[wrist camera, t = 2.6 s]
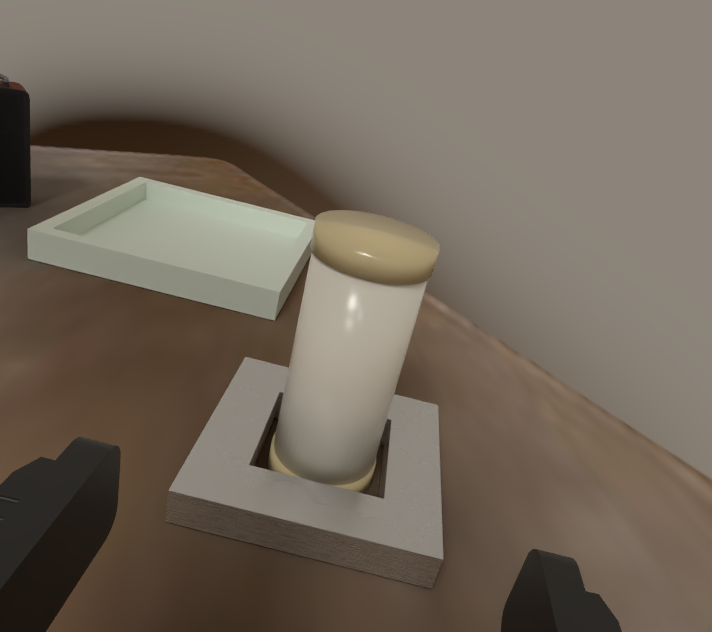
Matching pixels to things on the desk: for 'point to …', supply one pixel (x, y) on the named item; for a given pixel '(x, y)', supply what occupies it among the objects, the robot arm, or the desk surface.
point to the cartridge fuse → (350, 345)
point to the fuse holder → (315, 487)
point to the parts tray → (180, 245)
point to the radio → (14, 145)
